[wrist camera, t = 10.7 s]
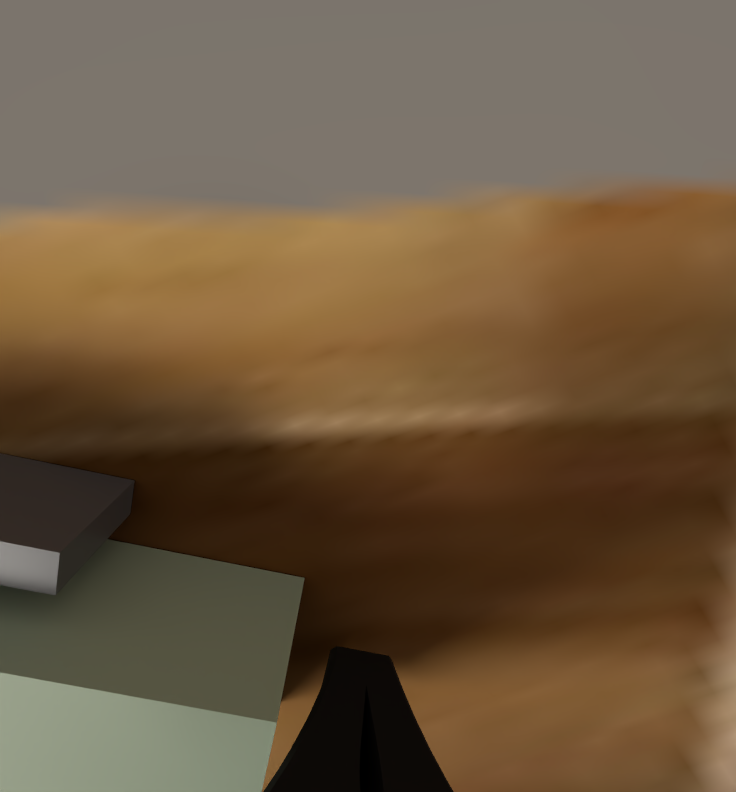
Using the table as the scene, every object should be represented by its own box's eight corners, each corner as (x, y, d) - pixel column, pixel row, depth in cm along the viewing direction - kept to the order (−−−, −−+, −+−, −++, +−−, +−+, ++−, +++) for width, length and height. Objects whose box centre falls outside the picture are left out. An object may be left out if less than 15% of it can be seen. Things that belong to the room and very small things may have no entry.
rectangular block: (-65, 642, 13) (-250, 809, 9) (-58, 506, 12) (-260, 625, 8) (276, 704, 13) (240, 889, 9) (304, 578, 12) (276, 722, 9)
